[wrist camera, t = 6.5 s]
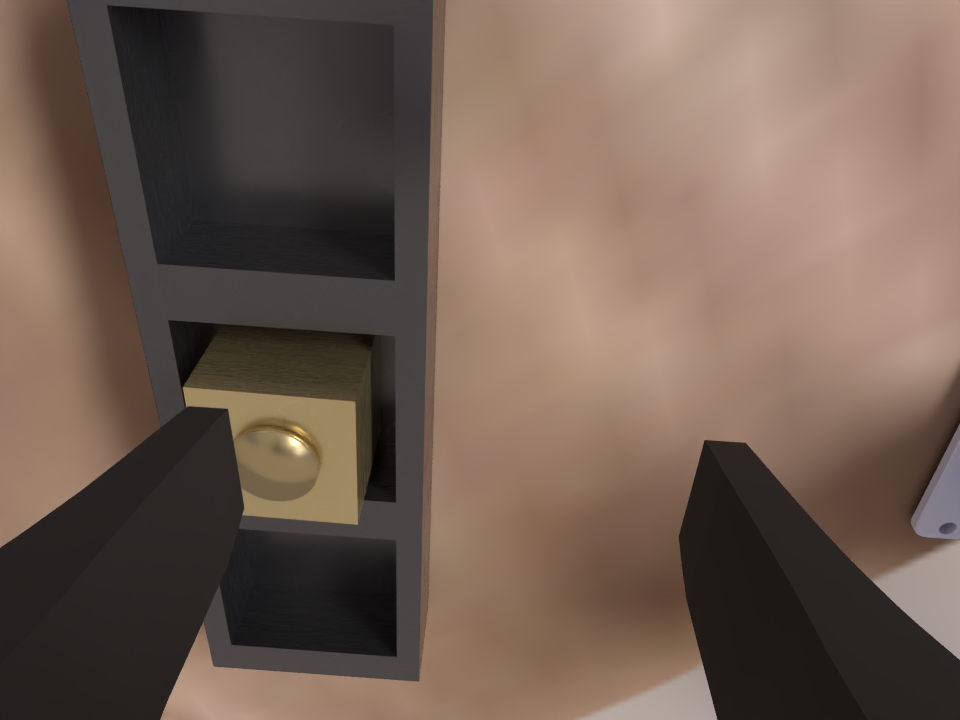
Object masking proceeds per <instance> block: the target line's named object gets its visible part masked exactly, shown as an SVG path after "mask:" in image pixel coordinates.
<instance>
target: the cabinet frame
mask: <svg viewBox="0 0 960 720" xmlns="http://www.w3.org/2000/svg"><path fill="white" fill-rule="evenodd" d="M67 2H68V6H69V11H70V15H71V20H72V24H73V29H74V33H75V38H76V43H77V47H78V52H79V56H80V61H81V65H82V70H83V74H84V79H85V83H86V88H87V93H88V97H89V102H90V106H91V111H92V115H93V120H94V124H95V129H96V133H97V138H98V143H99V147H100V152H101V156H102V161H103V165H104V170H105V174H106V179H107V184H108V188H109V193H110V197H111V202H112V206H113V211H114V215H115V220H116V224H117V229H118V234H119V238H120V243H121V247H122V252H123V256H124V261H125V265H126V270H127V275H128V279H129V284H130V288H131V293H132V297H133V302H134V306H135V311H136V315H137V320H138V325H139V329H140V334H141V338H142V343H143V347H144V352H145V356H146V361H147V365H148V370H149V375H150V379H151V384H152V388H153V393H154V397H155V402H156V406H157V411H158V416H159V420H160V425H161V427H162V426H163V425H165V424H166V423H167V422H168V421H170V420H171V419H172V418H173V417H175V416H176V415H177V414H178V413H180V412H181V411H182V410H184V409H185V408H186V403H185V397H184V391H183V386H184V385H185V383H186V381H187V380H188V378H189V377H190V375H191V373H192V372H193V370H194V369H195V367H196V365H197V364H198V362H199V361H200V359H201V357H202V356H203V354H204V353H205V351H206V349H207V348H208V346H209V345H210V343H211V341H212V340H213V338H214V337H215V335H216V333H217V332H218V330H219V329H220V327H221V325H222V324H231V325H245V326H259V327H273V328H287V329H301V330H315V331H329V332H343V333H358V334H372V335H381V431H380V435H379V439H378V443H377V448H376V452H375V456H374V460H373V464H372V468H371V473H370V477H369V481H368V485H367V489H366V493H365V498H364V502H363V506H362V510H361V514H360V518H359V523H358V525H355V524H343V523H331V522H319V521H307V520H295V519H283V518H271V517H259V516H247V515H242V518H241V522H240V525H239V529H238V532H237V536H236V539H235V543H234V546H233V549H232V552H231V556H230V559H229V562H228V565H227V568H226V570H225V573H224V575H223V577H222V580H221V582H220V584H219V587H218V589H217V591H216V594H215V596H214V598H213V600H212V603H211V605H210V607H209V609H208V612H207V614H206V616H205V618H204V625H205V629H206V634H207V638H208V643H209V648H210V652H211V657H212V661H213V666H215V667H228V668H242V669H256V670H269V671H283V672H297V673H310V674H324V675H338V676H351V677H365V678H379V679H392V680H406V681H419V678H420V669H421V661H422V653H423V645H424V637H425V628H426V620H427V612H428V586H429V552H430V517H431V483H432V448H433V414H434V379H435V345H436V310H437V276H438V241H439V206H440V172H441V137H442V103H443V68H444V34H445V0H67Z"/></svg>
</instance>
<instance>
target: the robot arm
mask: <svg viewBox="0 0 960 720" xmlns="http://www.w3.org/2000/svg"><path fill="white" fill-rule="evenodd" d="M244 508H245V507H244V501H243V495H242V489H241V483H240V477H239V471H238V465H237V459H236V453H235V448H234V442H233V436H232V430H231V424H230V418H229V412H228V409H225V408H210V407H195V406H188V407H186V408H185V409H184V410H182V411H181V412H180V413H178V414H177V415H176V416H175V417H173V418H172V419H171V420H170V421H168V422H167V423H166V424H165V425H163V426H162V427H161V428H160V429H158V430H157V431H156V432H155V433H153V434H152V435H151V436H150V437H149V438H147V439H146V440H145V441H144V442H142V443H141V444H140V445H139V446H137V447H136V448H135V449H134V450H132V451H131V452H130V453H129V454H128V455H126V456H125V457H124V458H122V459H121V460H120V461H119V462H117V463H116V464H115V465H114V466H112V467H111V468H110V469H108V470H107V471H106V472H105V473H103V474H102V475H101V476H99V477H98V478H97V479H96V480H94V481H93V482H92V483H91V484H89V485H88V486H87V487H85V488H84V489H83V490H81V491H80V492H79V493H77V494H76V495H75V496H73V497H72V498H70V499H69V500H68V501H66V502H65V503H63V504H62V505H61V506H59V507H58V508H56V509H55V510H54V511H52V512H51V513H49V514H48V515H47V516H45V517H44V518H42V519H41V520H40V521H38V522H37V523H36V524H34V525H33V526H31V527H30V528H29V529H27V530H26V531H24V532H23V533H22V534H20V535H19V536H17V537H16V538H14V539H13V540H11V541H10V542H8V543H7V544H5V545H4V546H2V547H1V548H0V720H160V718H161V716H162V713H163V711H164V708H165V706H166V703H167V701H168V699H169V696H170V694H171V692H172V690H173V687H174V685H175V683H176V681H177V679H178V676H179V674H180V672H181V670H182V667H183V665H184V663H185V661H186V659H187V656H188V654H189V652H190V650H191V647H192V645H193V643H194V641H195V638H196V636H197V634H198V632H199V630H200V627H201V625H202V623H203V621H204V618H205V616H206V614H207V612H208V609H209V607H210V605H211V603H212V600H213V598H214V596H215V594H216V591H217V589H218V587H219V584H220V582H221V580H222V577H223V575H224V573H225V570H226V568H227V565H228V562H229V559H230V556H231V552H232V549H233V546H234V543H235V539H236V536H237V532H238V529H239V525H240V522H241V518H242V515H243V511H244ZM945 523H946V524H945ZM943 524H944V525H943ZM911 525H912V527H913V529H914V530H915V532H916V534H918V535H919V536H922V537H928V538H942V539H956V540H960V424H959V426H958V428H957V430H956V432H955V434H954V436H953V438H952V440H951V442H950V444H949V446H948V448H947V450H946V452H945V454H944V456H943V458H942V460H941V462H940V464H939V466H938V468H937V470H936V471H935V473H934V475H933V477H932V479H931V481H930V483H929V485H928V487H927V489H926V491H925V493H924V495H923V497H922V499H921V501H920V503H919V505H918V507H917V509H916V511H915V513H914V515H913V517H912V519H911ZM679 543H680V552H681V561H682V569H683V577H684V584H685V591H686V599H687V603H688V607H689V611H690V615H691V619H692V623H693V627H694V631H695V635H696V639H697V643H698V647H699V651H700V654H701V658H702V662H703V666H704V670H705V674H706V677H707V681H708V685H709V689H710V693H711V696H712V700H713V704H714V708H715V712H716V716H717V720H960V660H959V659H958V658H957V657H956V656H954V655H953V654H952V653H951V652H950V651H948V650H947V649H946V648H945V647H944V646H942V645H941V644H940V643H939V642H938V641H937V640H935V639H934V638H933V637H932V636H931V635H930V634H929V633H927V632H926V631H925V630H924V629H923V628H922V627H920V626H919V625H918V624H917V623H915V621H914V620H912V619H911V618H910V617H909V616H908V615H907V614H906V613H905V612H904V611H902V610H901V609H900V608H899V607H898V606H897V605H896V604H895V603H894V602H893V601H892V600H891V599H890V598H889V597H887V595H886V594H885V593H883V592H882V591H881V590H880V589H879V588H878V587H877V586H876V585H875V584H874V583H873V582H872V581H871V580H870V579H869V578H868V577H867V576H866V575H865V574H864V573H863V572H862V571H861V570H860V569H859V568H858V567H857V566H856V565H855V564H854V563H853V562H852V561H851V560H850V559H849V558H848V557H847V556H846V555H845V554H844V553H843V552H842V551H841V550H840V549H839V548H838V546H837V545H836V544H835V543H834V542H833V541H832V540H831V539H830V538H829V537H828V536H827V535H826V534H825V533H824V531H823V530H822V529H821V528H820V527H819V526H818V525H817V524H816V523H815V522H814V521H813V519H812V518H811V517H810V516H809V515H808V514H807V513H806V512H805V511H804V509H803V508H802V507H801V506H800V505H799V504H798V503H797V501H796V500H795V499H794V498H793V497H792V496H791V495H790V493H789V492H788V491H787V490H786V489H785V488H784V487H783V485H782V484H781V483H780V482H779V481H778V480H777V478H776V477H775V476H774V475H773V474H772V473H771V471H770V470H769V469H768V468H767V467H766V466H765V465H764V463H763V462H762V461H761V460H760V459H759V458H758V456H757V455H756V454H755V453H754V452H753V451H752V450H751V448H750V447H749V446H748V445H747V444H746V443H739V442H724V441H708V440H705V441H704V445H703V449H702V452H701V456H700V460H699V463H698V467H697V471H696V475H695V478H694V482H693V486H692V490H691V493H690V497H689V501H688V505H687V508H686V512H685V516H684V519H683V523H682V527H681V531H680V534H679Z"/></svg>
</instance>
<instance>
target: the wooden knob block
mask: <svg viewBox="0 0 960 720" xmlns="http://www.w3.org/2000/svg"><path fill="white" fill-rule="evenodd" d="M183 391H184V397H185V403H186V407H188V406H195V407H210V408H225V409H228V412H229V418H230V424H231V430H232V436H233V442H234V448H235V453H236V459H237V465H238V471H239V477H240V483H241V489H242V495H243V501H244V507H245V508H244V511H243V515H247V516H259V517H271V518H283V519H295V520H307V521H319V522H331V523H343V524H355V525H358V523H359V518H360V514H361V510H362V506H363V502H364V498H365V493H366V489H367V485H368V481H369V477H370V473H371V468H372V464H373V460H374V456H375V452H376V448H377V443H378V439H379V435H380V431H381V335H372V334H358V333H343V332H329V331H315V330H301V329H287V328H273V327H259V326H245V325H231V324H222V325H221V327H220V329H219V330H218V332H217V333H216V335H215V337H214V338H213V340H212V341H211V343H210V345H209V346H208V348H207V349H206V351H205V353H204V354H203V356H202V357H201V359H200V361H199V362H198V364H197V365H196V367H195V369H194V370H193V372H192V373H191V375H190V377H189V378H188V380H187V381H186V383H185V385H184V386H183Z"/></svg>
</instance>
